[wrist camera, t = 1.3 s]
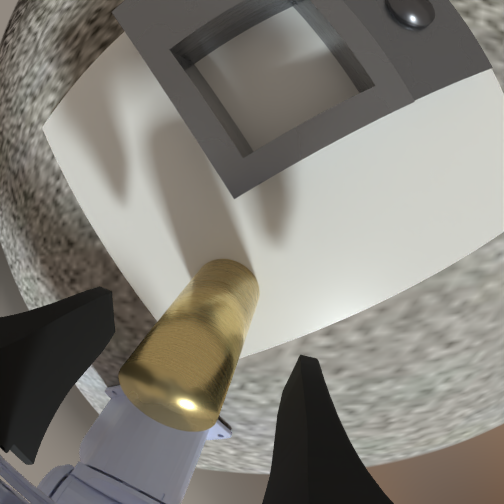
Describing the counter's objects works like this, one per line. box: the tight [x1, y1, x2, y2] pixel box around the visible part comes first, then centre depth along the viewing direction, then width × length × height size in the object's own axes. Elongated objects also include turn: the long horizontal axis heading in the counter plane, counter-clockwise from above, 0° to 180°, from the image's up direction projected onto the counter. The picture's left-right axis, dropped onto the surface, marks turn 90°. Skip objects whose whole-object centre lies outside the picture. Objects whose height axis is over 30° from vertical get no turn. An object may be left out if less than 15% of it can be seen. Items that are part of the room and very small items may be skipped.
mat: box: [42, 7, 504, 359], centre depth 11 cm, size 22×18×1 cm
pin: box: [118, 259, 260, 432], centre depth 10 cm, size 3×3×7 cm
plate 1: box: [112, 0, 415, 199], centre depth 8 cm, size 7×10×2 cm
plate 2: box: [183, 0, 492, 154], centre depth 8 cm, size 12×7×2 cm, turn 122°
